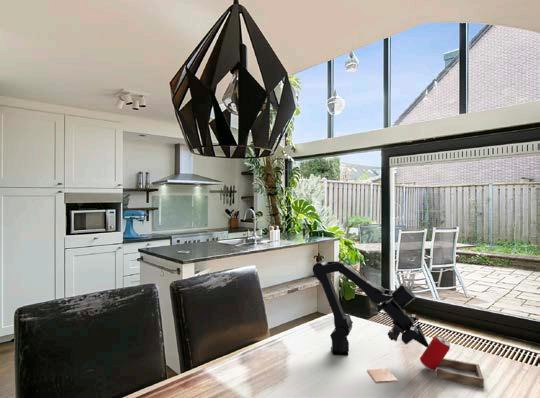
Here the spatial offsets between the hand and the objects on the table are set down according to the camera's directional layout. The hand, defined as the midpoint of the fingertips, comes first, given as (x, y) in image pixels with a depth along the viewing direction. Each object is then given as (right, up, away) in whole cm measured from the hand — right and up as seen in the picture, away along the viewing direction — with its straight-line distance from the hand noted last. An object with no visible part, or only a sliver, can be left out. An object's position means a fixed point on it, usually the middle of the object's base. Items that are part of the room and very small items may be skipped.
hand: (427, 346), depth 124 cm
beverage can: (0, -8, 0) cm, 8 cm away
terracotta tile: (-19, -10, -4) cm, 22 cm away
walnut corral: (+9, -9, -4) cm, 13 cm away
